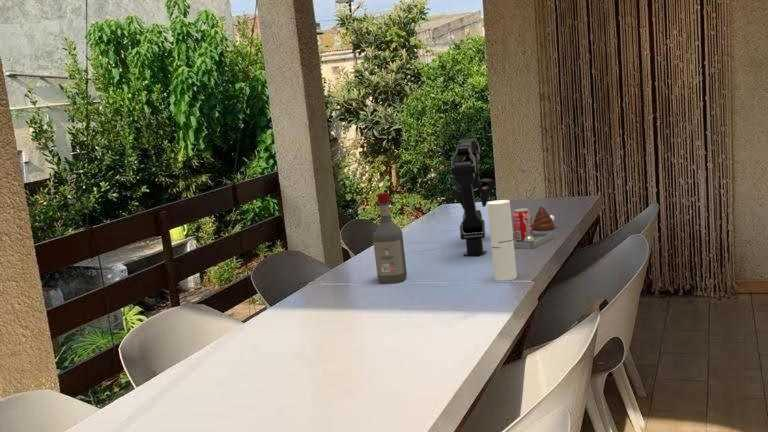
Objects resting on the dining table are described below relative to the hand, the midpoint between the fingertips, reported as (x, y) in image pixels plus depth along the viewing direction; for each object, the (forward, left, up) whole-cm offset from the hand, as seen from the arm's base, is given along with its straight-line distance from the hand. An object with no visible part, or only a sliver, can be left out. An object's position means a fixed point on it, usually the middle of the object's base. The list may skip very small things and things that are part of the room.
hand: (475, 209), depth 330 cm
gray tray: (+5, -17, -14) cm, 23 cm away
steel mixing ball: (-1, -22, -13) cm, 26 cm away
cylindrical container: (-44, -35, -14) cm, 58 cm away
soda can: (+7, -16, -13) cm, 22 cm away
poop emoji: (+30, -13, -14) cm, 36 cm away
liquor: (-54, +3, -14) cm, 56 cm away
